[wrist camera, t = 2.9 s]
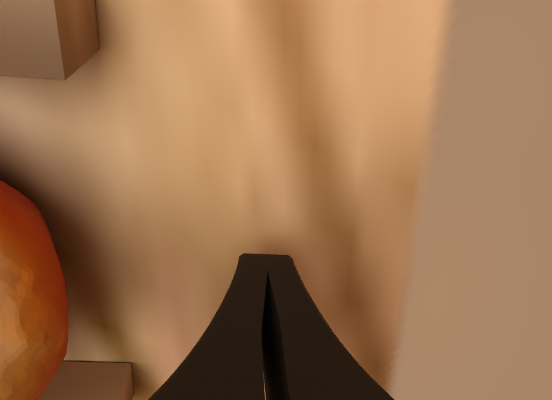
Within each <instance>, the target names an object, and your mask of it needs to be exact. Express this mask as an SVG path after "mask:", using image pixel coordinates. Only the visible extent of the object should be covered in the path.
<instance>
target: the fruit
mask: <svg viewBox="0 0 552 400" xmlns="http://www.w3.org/2000/svg"><path fill="white" fill-rule="evenodd" d="M67 342H68V302H67V295H66V289H65V283H64V277H63V273H62V270H61V266H60V263H59V259H58V256H57V253H56V251H55V248H54V245H53V242H52V239H51V236H50V232H49V230H48V227H47V225H46V223H45V221H44V219H43V217H42V215H41V213H40V211H39V209H38V208H37V206H36V205H35V204H34V203H33V202H32V201H30V200H29V199H28V198H27V197H26V196H24V195H23V194H21V193H20V192H19V191H17V190H16V189H14V188H12V187H10V186H9V185H7V184H5V183H4V182H2V181H1V180H0V400H39V398H40V397H41V395H42V393H43V392H44V390H45V389H46V387H47V386H48V384H49V383H50V381H51V380H52V378H53V377H54V375H55V374H56V372H57V371H58V369H59V367H60V365H61V363H62V361H63V359H64V357H65V355H66V350H67Z"/></svg>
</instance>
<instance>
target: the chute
mask: <svg viewBox="0 0 552 400" xmlns="http://www.w3.org/2000/svg"><path fill="white" fill-rule="evenodd" d="M98 50H100V49H99V39H98V29H97V19H96V9H95V0H0V76H9V77H23V78H38V79H53V80H66V79H67V78H68V77H69V76H70V75H71V74H73V73H74V72H75V71H76V70H77V69H78V68H79V67H80V66H82V65H83V64H84V63H85V62H86V61H87V60H88V59H89V58H91V57H92V56H93V55H94V54H95V53H96V52H97V51H98ZM133 395H134V388H133V378H132V368H131V363H108V362H71V361H62V363H61V365H60V367H59V369H58V371H57V372H56V374H55V375H54V377H53V378H52V380H51V381H50V383H49V384H48V386H47V387H46V389H45V390H44V392H43V393H42V395H41V397H40V398H39V400H132V399H133Z"/></svg>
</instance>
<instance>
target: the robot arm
mask: <svg viewBox="0 0 552 400" xmlns="http://www.w3.org/2000/svg"><path fill="white" fill-rule="evenodd" d="M263 373H264V377H263ZM264 383H265V392H266V400H394V399H393V398H392V397H391V396H390V395H389V394H388V393H387V392H386V391H385V390H384V389H383V388H382V387H381V386H380V385H378V384H377V383H376V382H375V381H374V380H373V379H372V378H371V377H370V376H369V375H368V374H367V373H366V371H365V370H364V369H363V368H362V367H361V366H360V365H359V364H358V363H357V361H356V360H355V359H354V358H353V357H352V356H351V354H350V353H349V352H348V351H347V349H346V348H345V347H344V346H343V344H342V343H341V342H340V341H339V339H338V338H337V337H336V335H335V334H334V332H333V331H332V330H331V328H330V327H329V325H328V324H327V322H326V321H325V320H324V318H323V316H322V315H321V313H320V312H319V310H318V308H317V307H316V305H315V303H314V302H313V300H312V298H311V297H310V295H309V293H308V292H307V290H306V288H305V286H304V284H303V282H302V280H301V278H300V276H299V274H298V272H297V270H296V267H295V265H294V262H293V259H292V258H291V257H290V256H289V255H269V254H246V253H244V254H242V255H241V256H239V262H238V266H237V269H236V272H235V275H234V278H233V280H232V283H231V285H230V287H229V289H228V291H227V293H226V295H225V297H224V300H223V302H222V304H221V305H220V307H219V309H218V311H217V312H216V314H215V316H214V317H213V319H212V321H211V323H210V324H209V326H208V328H207V329H206V331H205V332H204V334H203V335H202V337H201V338H200V340H199V341H198V342H197V344H196V345H195V346H194V348H193V349H192V351H191V352H190V353H189V355H188V356H187V357H186V358H185V360H184V361H183V362H182V363H181V364H180V366H179V367H178V368H177V369H176V371H175V372H174V373H173V374H172V375H171V376H170V378H169V379H168V380H167V381H166V382H165V383H164V384H163V385H162V386H161V387H160V388H159V389H158V390H157V391H156V392H155V393H154V394H153V395H152V396H151V397H150V398H149V399H148V400H265V394H264Z"/></svg>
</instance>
